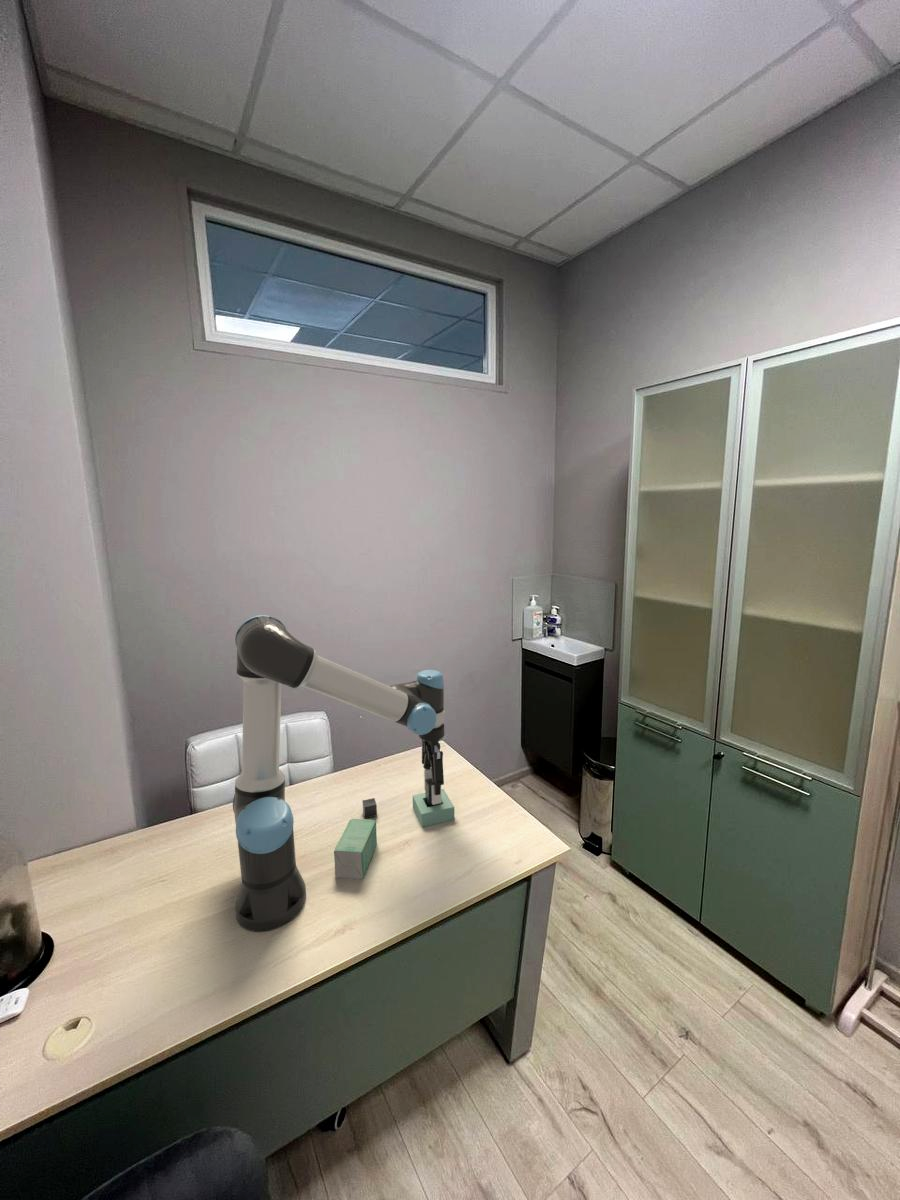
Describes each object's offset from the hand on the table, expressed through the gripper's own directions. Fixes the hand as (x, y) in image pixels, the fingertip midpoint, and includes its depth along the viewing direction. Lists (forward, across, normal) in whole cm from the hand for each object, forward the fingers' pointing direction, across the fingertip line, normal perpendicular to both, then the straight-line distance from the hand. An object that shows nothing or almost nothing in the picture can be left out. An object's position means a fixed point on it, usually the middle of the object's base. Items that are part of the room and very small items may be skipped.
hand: (432, 795), depth 141 cm
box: (+6, -12, +24) cm, 28 cm away
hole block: (+6, 0, 0) cm, 6 cm away
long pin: (+6, 0, 0) cm, 6 cm away
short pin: (+6, +6, +18) cm, 20 cm away
